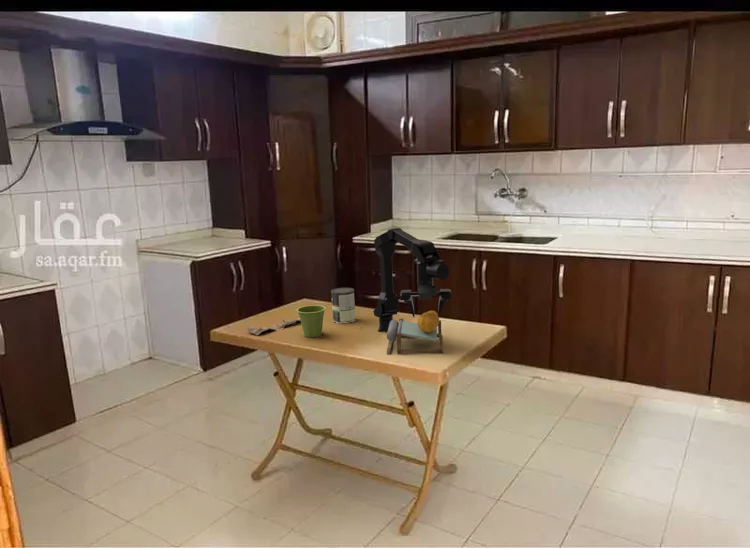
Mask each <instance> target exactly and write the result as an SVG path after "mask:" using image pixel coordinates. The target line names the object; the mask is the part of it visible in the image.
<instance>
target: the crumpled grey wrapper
mask: <svg viewBox="0 0 750 548" xmlns="http://www.w3.org/2000/svg"><path fill="white" fill-rule="evenodd" d="M297 318H298V317H297ZM297 321H299V322H301V320H300V318H298V319H297V320H295V319H293V320H289V319H285V320H284V319H282V322H284V323H282V324H280V323H277V324H278V325H275V324H272V325H273V326H274V327H275V328H272V327H267V326H266V327H265V326H264V327H252V326H250V325H249V326H246V327H245V328H246V330H248V332H250V334H254V335H256V336H259V335H260V334H261V333H262V332H266V331H268V330H273V331H275V332H277V331H276V329H281V328H284V329H285V327H286V326H289V325H293V324H295V323H296V322H297Z"/></svg>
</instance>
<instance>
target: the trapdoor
mask: <svg viewBox="0 0 750 548" xmlns="http://www.w3.org/2000/svg"><path fill="white" fill-rule="evenodd" d="M397 333H401V335H403V336H409V337H415V338H414V339H421V340H428V341H431V342H432V341H434V342H438V337H437V334H438V326H437V327H436V328H435V329H434V330H433V331H432V332H430V333H426V332H423V331H422V330H420V328H419V327H418V322H417V323H416V322H411V321H406V320H403V321H402V320H400V321H399V320H397V319H393V320H391V321H390V324H389V328H388V331H386V340H388V342H389V341H393V342H394V341H396V340H397V335H396V334H397Z"/></svg>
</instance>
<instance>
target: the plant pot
mask: <svg viewBox="0 0 750 548" xmlns="http://www.w3.org/2000/svg"><path fill="white" fill-rule="evenodd" d="M325 311H326V307H325V306H324V305H317V304H316V305H315V304H311V305H304V306H300V307H298V308H297V309H296V312H297V314H298V317H300V320H301V321H300V323H301V327H302V332H303V336H305V337H306V338H318V337H320V336H321V335H322V333H323V322H324V314H325Z"/></svg>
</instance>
